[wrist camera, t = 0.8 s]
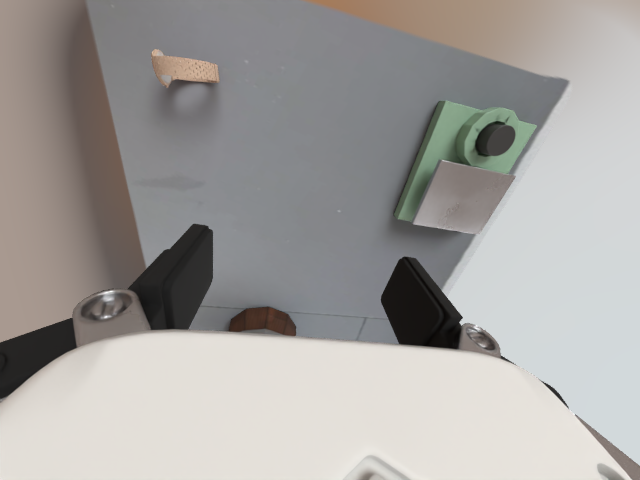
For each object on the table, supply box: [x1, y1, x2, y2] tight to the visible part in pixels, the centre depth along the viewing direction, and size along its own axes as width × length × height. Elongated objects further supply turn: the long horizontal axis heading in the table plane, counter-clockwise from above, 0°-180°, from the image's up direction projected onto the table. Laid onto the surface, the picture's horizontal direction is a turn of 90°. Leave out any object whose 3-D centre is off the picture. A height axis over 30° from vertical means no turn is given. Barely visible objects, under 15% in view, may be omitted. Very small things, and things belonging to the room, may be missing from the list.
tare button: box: [476, 124, 516, 156], centre depth 24 cm, size 3×3×2 cm
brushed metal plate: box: [411, 159, 516, 234], centre depth 28 cm, size 8×10×1 cm
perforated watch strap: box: [151, 49, 219, 88], centre depth 20 cm, size 3×5×5 cm, turn 86°
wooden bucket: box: [228, 307, 296, 336], centre depth 35 cm, size 16×12×15 cm
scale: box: [394, 101, 536, 221], centre depth 28 cm, size 14×12×3 cm
